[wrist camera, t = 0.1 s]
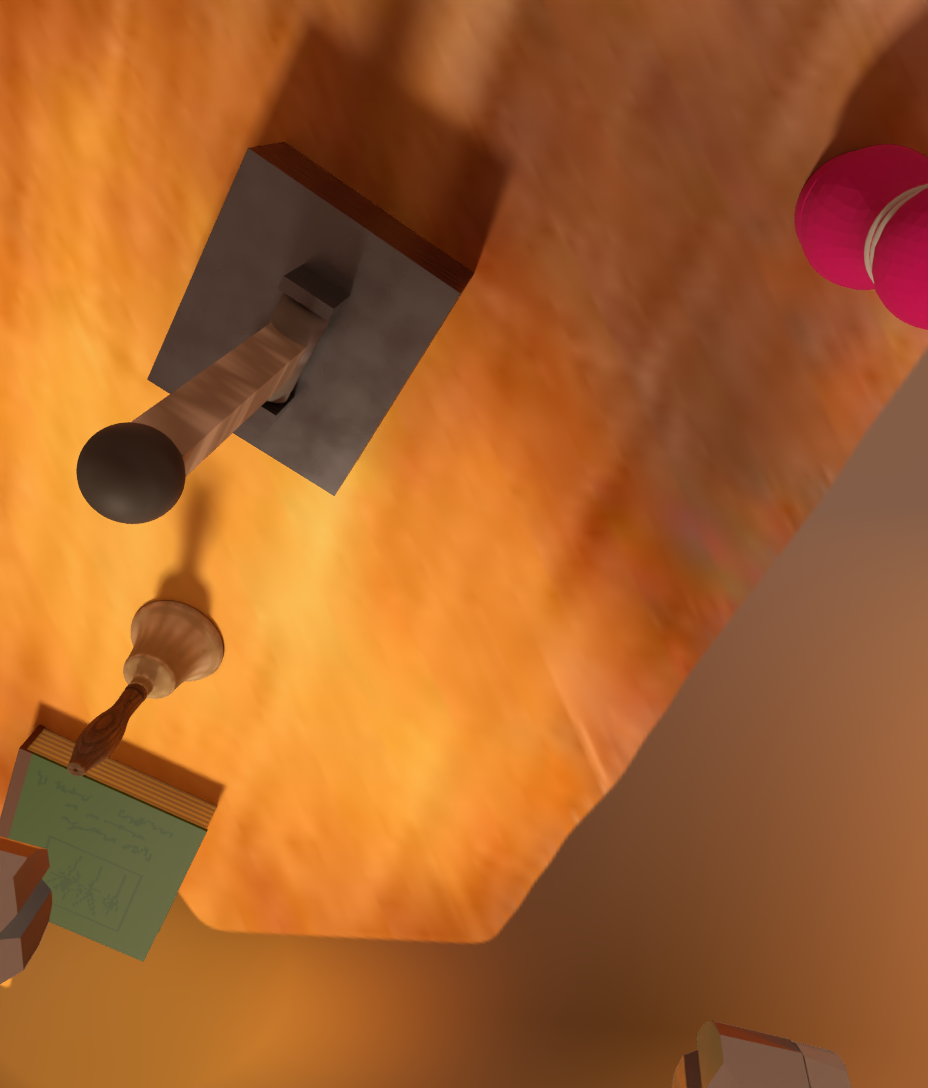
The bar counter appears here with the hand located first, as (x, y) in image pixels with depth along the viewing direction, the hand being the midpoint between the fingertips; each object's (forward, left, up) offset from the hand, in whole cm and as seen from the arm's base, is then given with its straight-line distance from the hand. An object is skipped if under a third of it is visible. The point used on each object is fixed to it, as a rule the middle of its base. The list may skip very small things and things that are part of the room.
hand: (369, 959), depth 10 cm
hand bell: (+38, -23, -48) cm, 66 cm away
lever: (+7, -14, -42) cm, 45 cm away
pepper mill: (-7, +16, -48) cm, 51 cm away
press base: (+7, -14, -48) cm, 50 cm away
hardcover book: (+67, -30, -49) cm, 88 cm away
